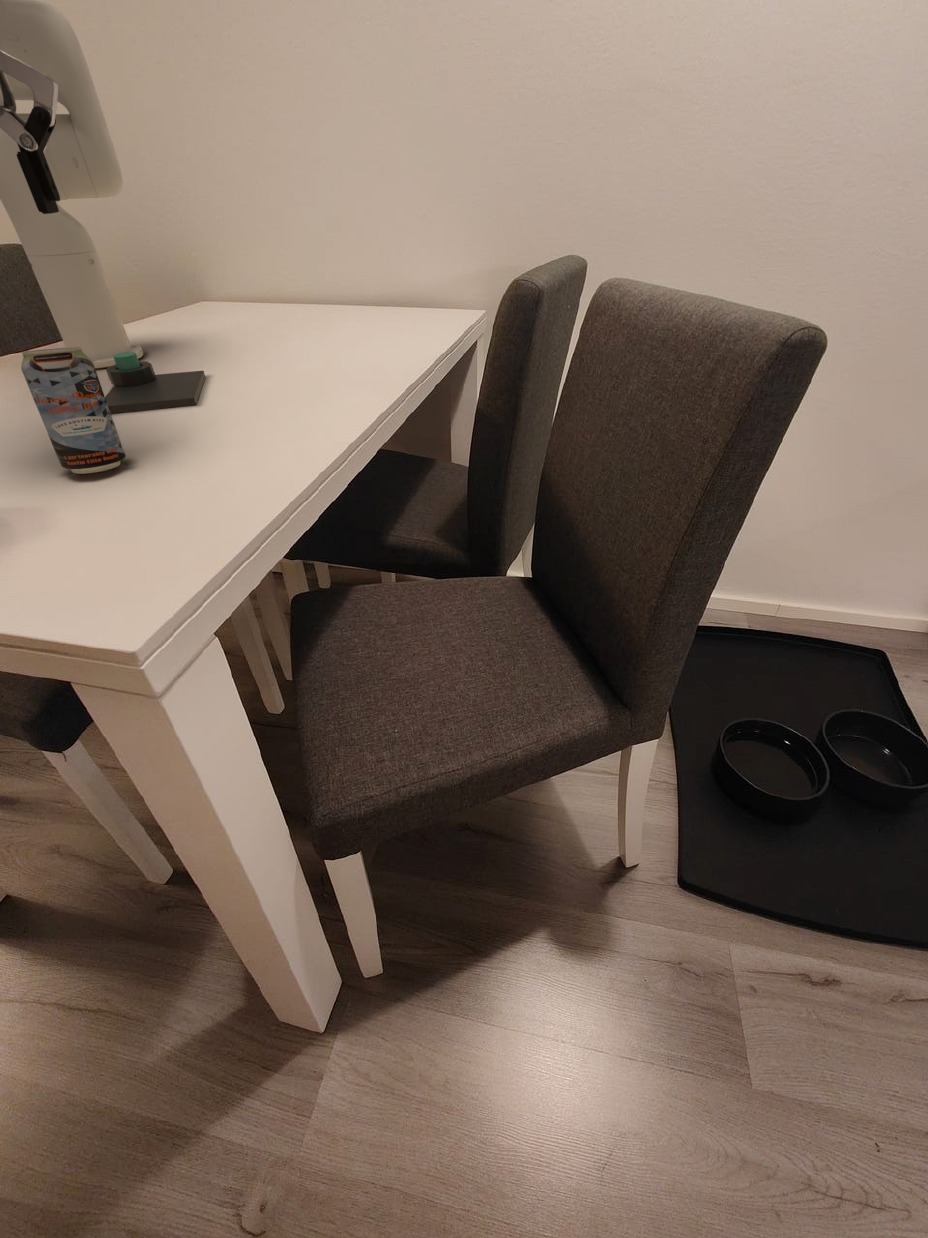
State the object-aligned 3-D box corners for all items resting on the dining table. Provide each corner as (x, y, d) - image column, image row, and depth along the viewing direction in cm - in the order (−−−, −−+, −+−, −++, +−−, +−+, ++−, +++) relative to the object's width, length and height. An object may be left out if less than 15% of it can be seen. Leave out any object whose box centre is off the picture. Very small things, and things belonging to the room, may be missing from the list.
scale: (119, 384, 86) (111, 363, 84) (205, 376, 88) (199, 355, 86) (96, 415, 75) (87, 391, 73) (196, 405, 77) (189, 382, 75)
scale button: (120, 367, 83) (115, 352, 82) (142, 365, 84) (137, 350, 82) (116, 372, 81) (110, 357, 80) (139, 370, 81) (133, 355, 80)
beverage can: (63, 486, 57) (0, 360, 50) (71, 460, 63) (15, 343, 55) (131, 474, 59) (80, 352, 52) (132, 450, 65) (86, 335, 57)
